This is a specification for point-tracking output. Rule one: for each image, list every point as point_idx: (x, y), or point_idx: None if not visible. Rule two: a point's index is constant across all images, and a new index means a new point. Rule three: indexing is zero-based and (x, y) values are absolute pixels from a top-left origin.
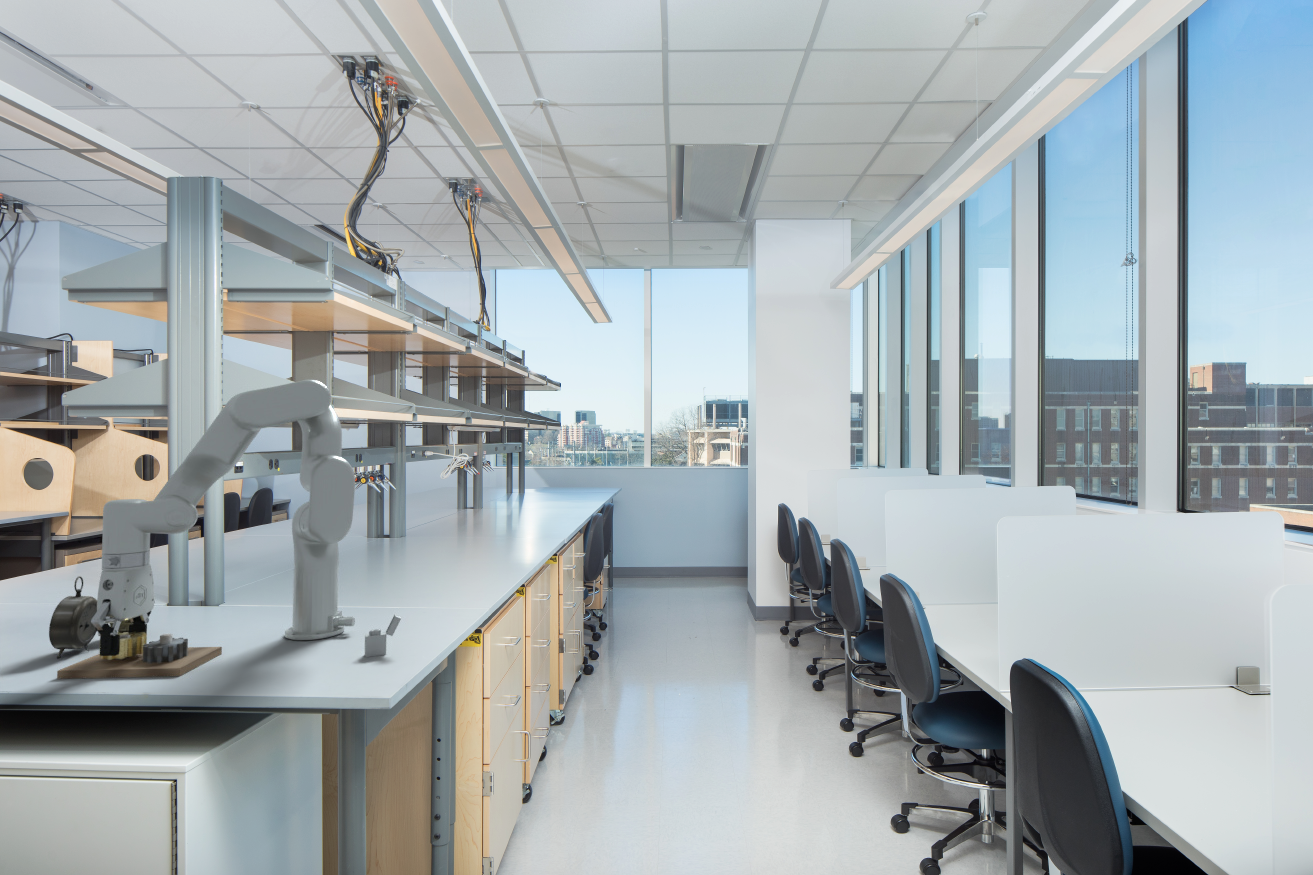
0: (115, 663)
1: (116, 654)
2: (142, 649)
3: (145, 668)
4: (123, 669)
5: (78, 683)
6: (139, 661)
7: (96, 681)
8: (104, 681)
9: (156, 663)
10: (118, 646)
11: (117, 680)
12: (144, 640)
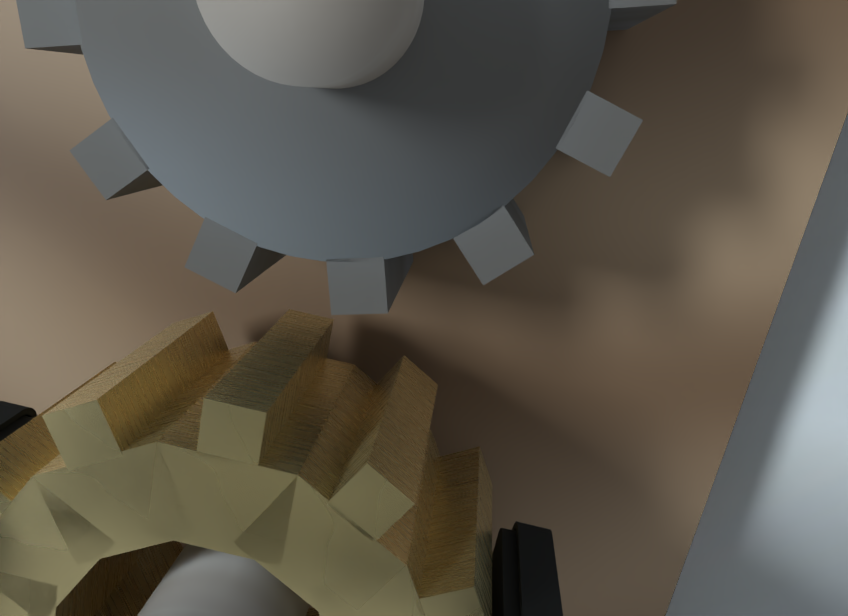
0: None
1: (548, 535)
2: (300, 332)
3: (838, 81)
4: (767, 329)
5: (788, 611)
6: (472, 277)
7: (786, 492)
8: (819, 424)
9: (635, 30)
10: (540, 586)
11: (837, 318)
12: (157, 383)
